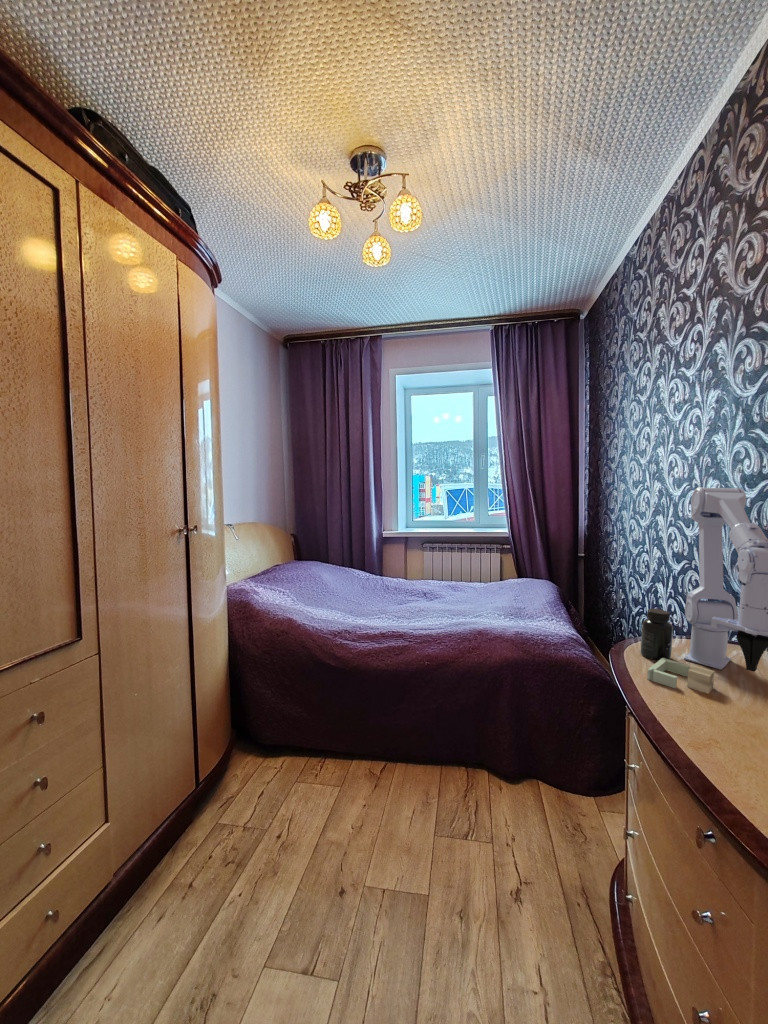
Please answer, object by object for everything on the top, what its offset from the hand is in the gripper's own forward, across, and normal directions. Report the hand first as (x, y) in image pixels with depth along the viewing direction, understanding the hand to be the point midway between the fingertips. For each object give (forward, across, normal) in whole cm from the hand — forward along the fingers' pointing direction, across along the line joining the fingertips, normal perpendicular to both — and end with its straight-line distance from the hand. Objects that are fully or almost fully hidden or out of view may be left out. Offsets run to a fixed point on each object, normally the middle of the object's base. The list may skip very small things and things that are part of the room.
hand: (751, 669), depth 93 cm
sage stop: (+7, -14, 0) cm, 16 cm away
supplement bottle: (+7, -21, +11) cm, 25 cm away
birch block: (+7, -8, 0) cm, 11 cm away
